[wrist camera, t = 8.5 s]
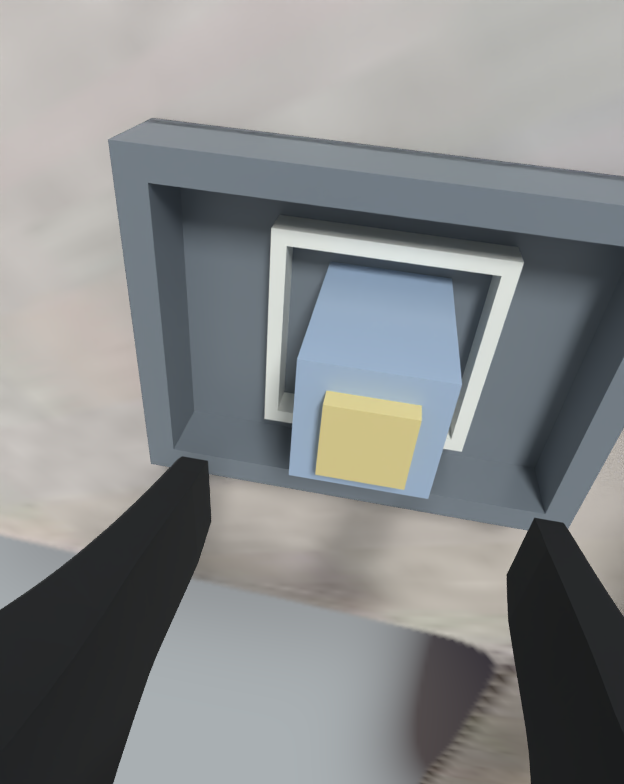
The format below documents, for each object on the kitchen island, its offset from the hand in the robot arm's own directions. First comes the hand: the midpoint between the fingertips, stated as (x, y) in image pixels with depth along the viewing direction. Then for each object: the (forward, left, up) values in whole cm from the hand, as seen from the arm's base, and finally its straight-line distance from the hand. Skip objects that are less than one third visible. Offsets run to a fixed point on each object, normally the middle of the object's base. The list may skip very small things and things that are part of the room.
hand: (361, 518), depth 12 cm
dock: (0, 0, -9) cm, 9 cm away
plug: (0, 0, -9) cm, 9 cm away
